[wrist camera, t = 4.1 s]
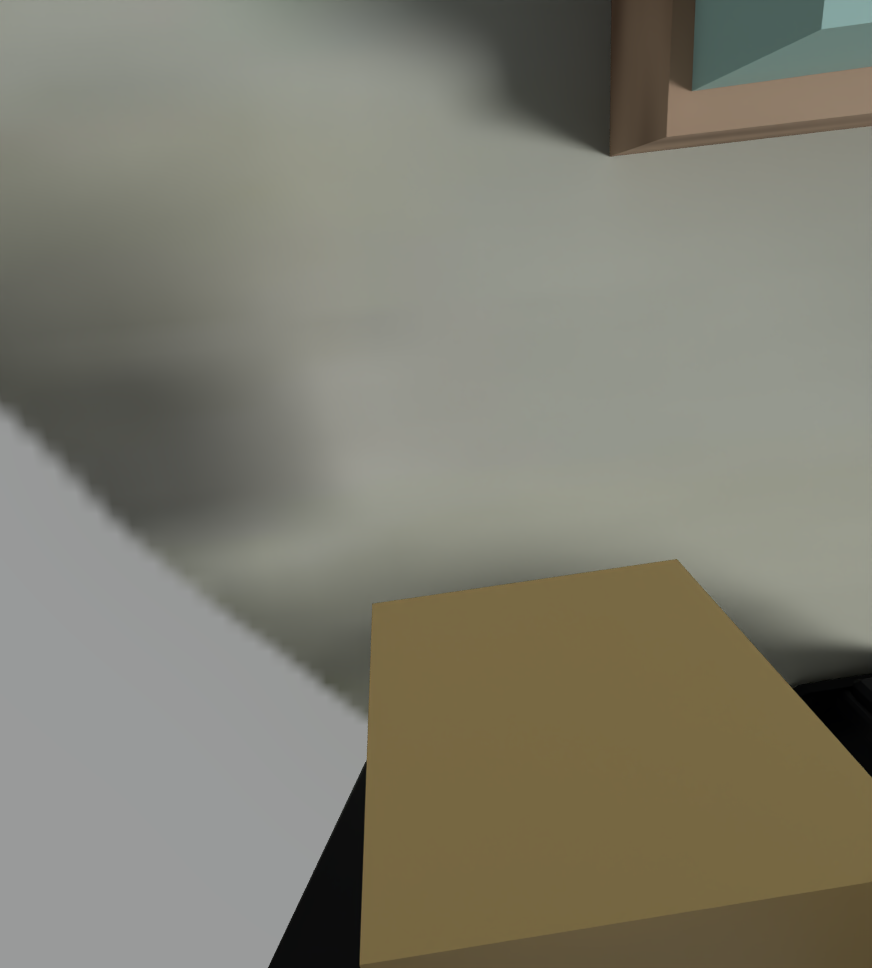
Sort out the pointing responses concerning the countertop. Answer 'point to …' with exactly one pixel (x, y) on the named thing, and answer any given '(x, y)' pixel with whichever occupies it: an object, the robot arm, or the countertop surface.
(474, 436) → the countertop surface
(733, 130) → the tower base
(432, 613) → the ochre block
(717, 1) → the tower top
